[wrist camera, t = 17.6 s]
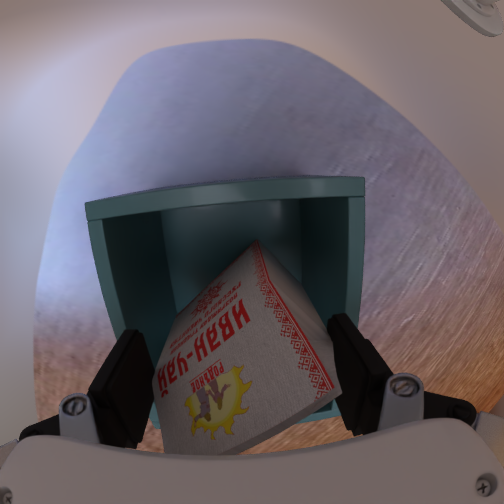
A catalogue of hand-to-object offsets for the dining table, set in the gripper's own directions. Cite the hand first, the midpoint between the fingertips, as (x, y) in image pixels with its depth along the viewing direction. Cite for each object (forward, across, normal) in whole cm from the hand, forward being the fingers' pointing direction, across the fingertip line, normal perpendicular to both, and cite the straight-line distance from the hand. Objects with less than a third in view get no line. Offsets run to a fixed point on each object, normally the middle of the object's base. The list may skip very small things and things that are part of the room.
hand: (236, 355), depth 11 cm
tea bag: (+6, 0, 0) cm, 6 cm away
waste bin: (+11, 0, 0) cm, 11 cm away
